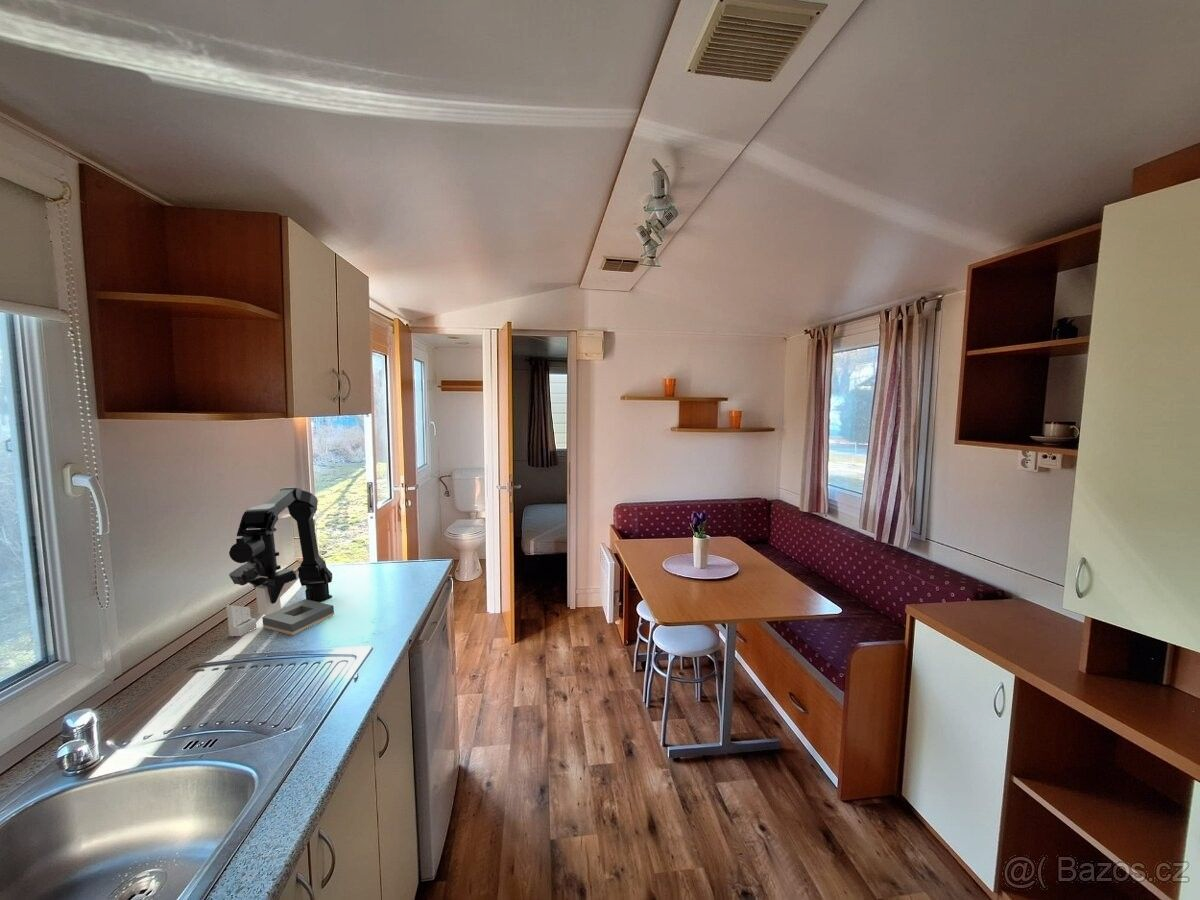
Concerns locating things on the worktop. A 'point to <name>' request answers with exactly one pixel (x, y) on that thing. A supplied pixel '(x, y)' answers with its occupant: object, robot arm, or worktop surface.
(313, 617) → the socket
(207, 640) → the worktop surface
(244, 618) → the white wedge bracket
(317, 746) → the worktop surface
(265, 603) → the plug
